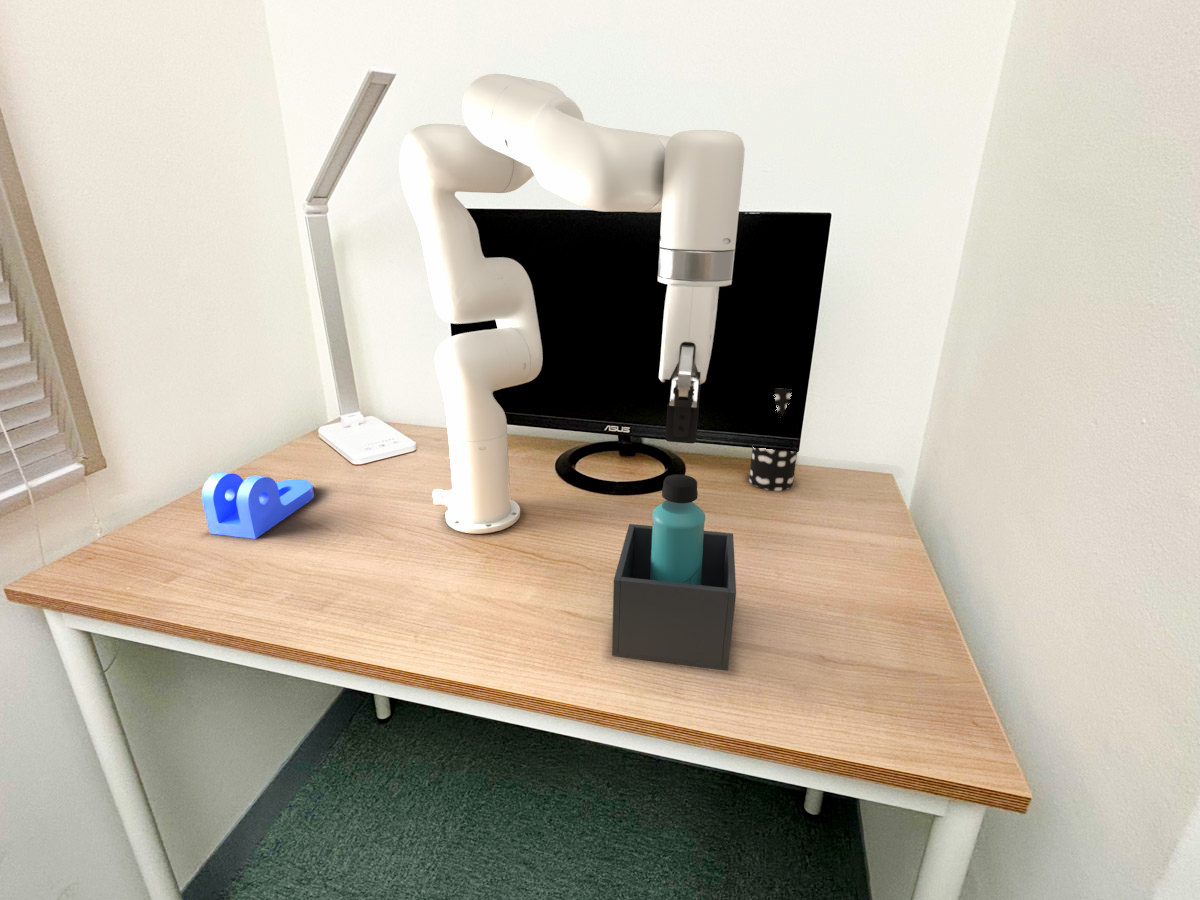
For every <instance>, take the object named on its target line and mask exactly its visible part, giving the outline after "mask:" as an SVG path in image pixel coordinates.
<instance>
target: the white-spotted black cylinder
mask: <svg viewBox="0 0 1200 900" xmlns="http://www.w3.org/2000/svg"><path fill="white" fill-rule="evenodd" d="M775 389H776V390H775ZM775 389H774V390H775V391H774V392H775V394H774V395H775V396H776V397H775V396H774V395H773V396H774V397H775V398H774V399H775V404H776V408H777V409H776V410H777V413H778V412H779V413H780V412H781V413H780V414H782V416H783V414H784V413H785V412H786V411H785V410H786V408H787V404H788V403H789V402H790V401H789V400H790V399H791V398H790V397H791V396H792V395H791V394H792V392H791V391H792V389H786V388H785V389H784V388H775ZM790 392H791V393H790ZM788 401H789V402H788ZM777 404H778V405H777ZM789 404H790V403H789ZM789 404H788V405H789ZM777 406H778V407H777ZM776 410H775V411H776ZM784 411H785V412H784ZM775 413H776V412H775ZM779 413H778V414H779ZM778 416H779V415H778ZM780 416H781V415H780ZM780 418H781V417H780ZM797 456H798V451H797V452H792V451H784V450H773V449H766V448H754V447H753V446H752V448H751V457H750V467H749V475H748V476H749V477H748V481H749V483H750V484H752V486H754V487H757V488H759V489H761V490H766V491H776V492H781V491H786V490H789V489H791V488H792V487H793V485H794V478H795V471H796V463H797V458H798V457H797Z"/></svg>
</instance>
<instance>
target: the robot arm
mask: <svg viewBox="0 0 1200 900" xmlns="http://www.w3.org/2000/svg"><path fill="white" fill-rule="evenodd" d="M461 112H462V117H463V120H464V123H465V125H461V124H450V123H427V124H422V125H419V126H416V127H414V128H413V129H411V130H410V131H409V132H408V133H406V135H405V136H404V138H403V140H402V142H401V143H402V144H401V146H400V151H399V177H400V182H401V186H402V187H401V188H402V191H403V193H404V197H405V199H406V202H407V204H408V207H409V209H410V211H411V214H412V217H413V219H414V221H415V224H416V226H417V229H418V233H419V237H420V241H421V246H422V251H423V257H424V262H425V268H426V272H427V277H428V283H429V288H430V293H431V297H432V300H433V304H434V308H435V311H436V313H437V315H438V316H439V318H440V319H441V320H442V321H444V322H446V323H448V324H454V325H459V324H460V325H461V324H463V325H464V324H473V323H482V322H489V321H495V323H496V327H497V328H491V329H482V330H475V331H469V332H468V331H467V332H463V333H458V334H455V335H452V336H449V337H448V338H446V339H445V340H444V341H442V342H441V343H440V344H439V346H437V349H436V351H435V354H434V365H435V371H436V375H437V379H438V382H439V385H440V390H441V393H442V397H443V403H444V409H445V416H446V418H445V419H446V428H447V438H448V449H449V450H448V451H449V462H450V476H451V485H452V486H451V487H452V488H451V489H442V488H434V489H432V493H431V498H432V505H434V506H439V507H440V506H445V507H446V508H447V509H446V511H445V523H446V524H447V526H449V527H450V528H451V529H452V530H455V531H457V532H460V533H465V534H473V535H474V534H475V535H476V534H477V535H478V534H479V535H482V534H483V535H484V534H490V533H496V532H500V531H503V530H506V529H508V528H509V527H511V526H513V525H514V524H516V523H517V522H518V520H519V519H520V517H521V507H520V505H519V504H518V503H517V501H515V500H514V499H511V483H510V459H509V458H510V457H509V438H508V422H507V416H506V413H505V410H504V409H503V407H502V406H501V405H500V404H499V403H498V401H497V399H495V397H494V392H495V391H499V390H501V389H506V388H510V387H515V386H519V385H523V384H526V383H530V382H531V381H533V380H535V379H536V378H537V377H538V376H539V374H540V372H541V371H542V367H543V361H544V360H543V359H544V358H543V356H544V355H543V353H544V352H543V344H542V339H541V331H540V326H539V318H538V312H537V306H536V300H535V295H534V289H533V284H532V281H531V279H530V277H529V274H528V273H527V271H526V270H525V268H524V267H523V266H522V264H521V263H519V262H518V261H517V260H515V259H513V258H509V257H504V256H502V257H500V256H499V257H497V256H496V257H485V256H484V253H483V251H482V246H481V240H480V233H479V228H478V226H477V223H476V222H475V220H474V218H473V217H472V215H471V214H470V211H469V210H468V209H467V208H466V207H465V205H464V204H463V203H462V201H460V200H459V199H458V198H457V197H456V192H461V193H480V194H481V193H482V194H483V193H484V194H507V193H511V192H514V191H516V190H518V189H519V188H521V187H522V186H523V185H525V184H526V183H528V181H529V180H530V179H532V178H533V177H535V179H536V180H537V182H538V184H539V185H540V186H541V187H542V188H544V189H545V190H547V191H549V192H550V193H552V194H555V195H556V196H558V197H561V198H562V199H565V200H566V201H568V202H571V203H573V204H574V205H577V206H579V207H582V208H584V209H588V210H591V211H596V212H602V213H603V212H604V213H605V212H606V213H607V212H611V213H613V212H614V213H615V212H619V213H620V212H625V213H626V212H630V213H632V212H636V213H661V215H660V233H659V234H660V235H659V251H658V268H657V282H659V283H661V284H664V285H667V286H666V292H665V300H664V309H663V319H662V334H661V347H660V359H659V371H658V379H659V380H660V382H661V383H665V382H666V380H671V385H670V395H669V403H667V406H666V407H667V408H666V422H665V435H664V438H665V441H666V442H669V443H679V444H680V443H681V444H695V443H696V442H697V433H698V423H699V411H700V400H701V392H702V391H701V390H702V384H704V383H705V382H706V380H707V374H708V371H709V365H710V360H711V356H712V349H713V343H714V336H715V330H716V321H717V312H718V303H719V302H718V300H719V294H720V293H719V292H720V287H728V286H731V285H732V284H733V283H732V282H733V273H734V264H735V263H734V262H735V253H736V243H737V234H738V224H739V223H738V222H739V213H740V205H741V204H740V203H741V194H742V183H743V176H744V175H743V174H744V165H745V152H746V151H745V150H746V149H745V144H744V141H743V139H742V137H741V136H739V134H737V133H734V132H732V131H726V130H719V129H691V130H683V131H679V132H676V133H674V134H672V136H670V135H664V134H657V133H649V132H642V131H635V130H629V129H622V128H612V127H606V126H601V125H597V124H594V123H591V122H588V121H586V120H585V117H584V114H583V112H582V110H581V109H580V107H579V105H578V104H577V103H576V101H574V100H573V99H572V98H570V97H568V96H567V95H566V94H565V92H564V91H563V90H561V88H559V86H556V85H555V84H553V83H551V82H547V81H544V80H543V81H542V80H537V79H531V78H526V77H521V76H515V75H510V74H505V73H488V74H484V75H481V76H479V77H478V78H476V79H474V80H473V81H472V82H471V83H470V84H469V85H468V87H467V89H466V90H465V92H464V95H463V98H462V102H461Z"/></svg>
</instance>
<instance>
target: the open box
mask: <svg viewBox="0 0 1200 900" xmlns="http://www.w3.org/2000/svg"><path fill="white" fill-rule="evenodd" d="M652 527H653V525H647V524H637V523H636V524H634V523H629V524H628V527H627V531H626V534H625V537H624V541H623V545H622V548H621V552H620V556H619V558H618V559H619V560H618V563H617V567H616V571H615V574H614V578H613V592H612V593H613V595H612V636H611V637H612V638H611V640H612V641H611V656H613V657H620V658H629V659H635V660H636V659H638V660H644V661H651V662H661V663H668V664H674V665H675V664H676V665H682V666H683V665H684V666H691V667H699V668H706V669H707V668H708V669H714V670H723V671H728V670H729V665H730V664H729V663H730V655H731V646H732V636H733V627H734V618H735V609H736V599H737V581H736V563H735V561H736V560H735V543H734V533H731V532H724V531H723V532H722V531H710V530H704V537H703V544H704V545H703V550H704V551H703V557H702V567H703V569H702V570H703V571H702V573H703V574H702V573H701V576H702V577H701V580H702V581H701V582H702V583H701V584H702V585H693V584H684V583H674V582H665V581H655V580H649V578H650V573H649V572H650V570H649V569H651V568H650V567H651V563H650V562H651V560H650V559H651V551H652ZM703 558H704V559H703Z"/></svg>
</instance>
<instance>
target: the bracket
mask: <svg viewBox="0 0 1200 900" xmlns="http://www.w3.org/2000/svg"><path fill="white" fill-rule="evenodd" d="M313 488H314V487H313V483H312V482H311V481H309V480H306V479H301V478H295V479H294V478H292V479H284V480H280V481H275V479H273V478H272V477H271V476H265V475H263V476H262V475H251V476H248V477H246V478H245V479H243V478H242V477H241V476H240V475H239V474H237V473H232V472H222V471H221V472H216V473H213V474H212V475H210V476H209V477H208V478H207V479H206V481H205V483H204V485H203V487H202V489H201V502H202V506H203V510H204V511H203V512H204V514H205V519H206V523H207V527H208V531H209V534H211V535H218V536H219V535H221V536H229V537H237V538H245V539H254V540H256V539H258V538H259V537H260V536H262V535H264V534H265V533H266V532H268V531H269V530H270V529H272V528H273V527H275V526H276V525H277V524H279V523H280V522H282V521H284V520H285V519H286V518H288V517H289V516H291V515H293V513H295V512H296V511H299V510H300V508H302V507H303V506H305V505H306V504H308V503H309V502H311V501H312V500H313V499H314V498H315V494H314V493H315V492H314V489H313Z"/></svg>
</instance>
